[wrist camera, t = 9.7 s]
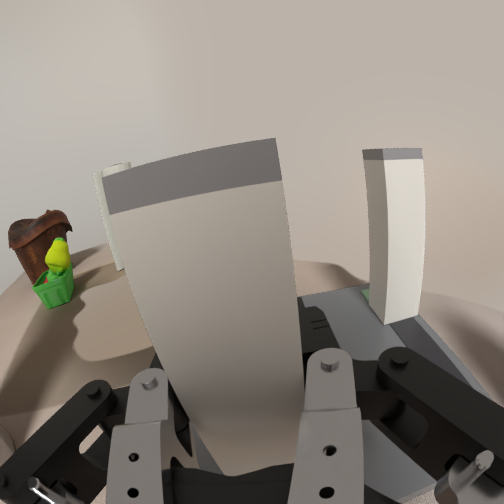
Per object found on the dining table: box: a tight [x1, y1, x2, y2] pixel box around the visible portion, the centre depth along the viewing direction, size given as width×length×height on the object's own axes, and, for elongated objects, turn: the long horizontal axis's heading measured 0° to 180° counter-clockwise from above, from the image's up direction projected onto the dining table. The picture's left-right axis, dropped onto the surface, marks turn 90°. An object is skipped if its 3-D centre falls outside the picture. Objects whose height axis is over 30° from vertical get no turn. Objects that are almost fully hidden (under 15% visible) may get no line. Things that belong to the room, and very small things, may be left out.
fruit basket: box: [32, 238, 74, 309], centre depth 41 cm, size 11×9×11 cm
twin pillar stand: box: [193, 148, 493, 503], centre depth 15 cm, size 22×22×16 cm
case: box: [8, 210, 72, 285], centre depth 55 cm, size 18×20×18 cm
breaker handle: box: [102, 138, 305, 476], centre depth 8 cm, size 4×4×14 cm
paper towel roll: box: [93, 162, 131, 271], centre depth 51 cm, size 7×6×21 cm
